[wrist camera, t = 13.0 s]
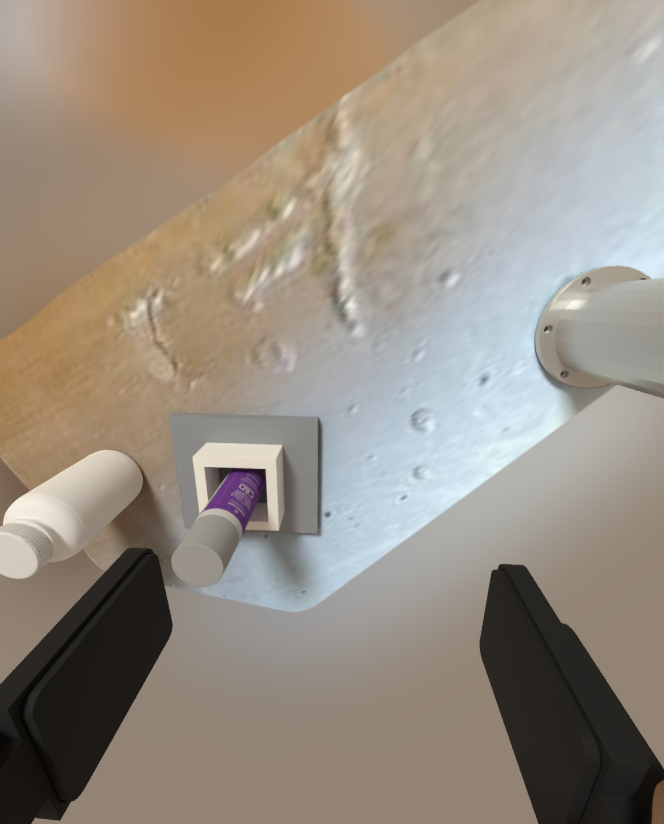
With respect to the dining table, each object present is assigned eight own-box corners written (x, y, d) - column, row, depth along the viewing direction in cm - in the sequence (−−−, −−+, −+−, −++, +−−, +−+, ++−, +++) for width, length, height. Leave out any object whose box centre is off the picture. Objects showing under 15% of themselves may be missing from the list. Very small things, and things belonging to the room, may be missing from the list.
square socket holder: (318, 417, 41) (314, 432, 36) (318, 527, 46) (314, 554, 41) (173, 413, 41) (150, 428, 37) (188, 522, 46) (169, 548, 41)
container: (270, 468, 42) (230, 553, 27) (260, 498, 43) (218, 594, 29) (234, 456, 41) (175, 535, 27) (225, 487, 43) (165, 578, 29)
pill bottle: (124, 511, 46) (26, 604, 32) (75, 474, 45) (-52, 554, 31) (157, 476, 44) (68, 557, 30) (106, 435, 43) (-13, 502, 29)
